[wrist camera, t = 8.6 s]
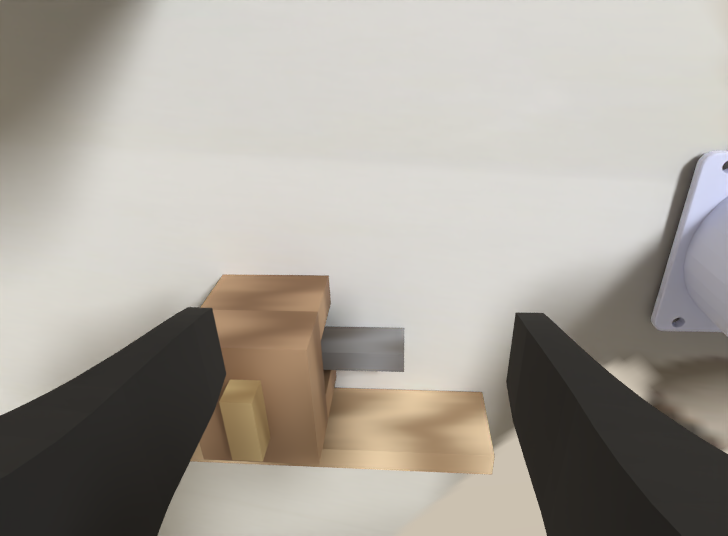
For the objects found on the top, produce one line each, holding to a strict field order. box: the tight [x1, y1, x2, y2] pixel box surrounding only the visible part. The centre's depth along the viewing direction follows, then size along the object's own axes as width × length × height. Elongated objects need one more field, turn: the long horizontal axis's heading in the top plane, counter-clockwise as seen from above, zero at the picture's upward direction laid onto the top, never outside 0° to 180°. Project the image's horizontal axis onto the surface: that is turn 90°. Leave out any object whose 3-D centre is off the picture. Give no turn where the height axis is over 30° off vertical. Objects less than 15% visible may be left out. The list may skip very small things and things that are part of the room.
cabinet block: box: [199, 275, 336, 465], centre depth 21 cm, size 5×6×7 cm
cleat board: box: [190, 327, 494, 474], centre depth 23 cm, size 18×5×4 cm, turn 92°
